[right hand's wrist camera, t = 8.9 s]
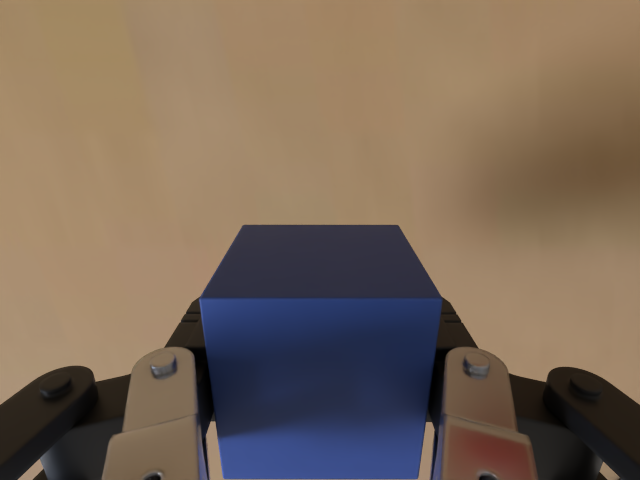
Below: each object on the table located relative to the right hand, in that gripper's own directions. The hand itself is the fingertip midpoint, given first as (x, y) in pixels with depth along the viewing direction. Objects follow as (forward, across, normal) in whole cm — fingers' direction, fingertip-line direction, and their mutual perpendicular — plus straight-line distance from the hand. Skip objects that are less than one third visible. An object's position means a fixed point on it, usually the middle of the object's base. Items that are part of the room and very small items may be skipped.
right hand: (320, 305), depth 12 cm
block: (+1, 0, 0) cm, 1 cm away
